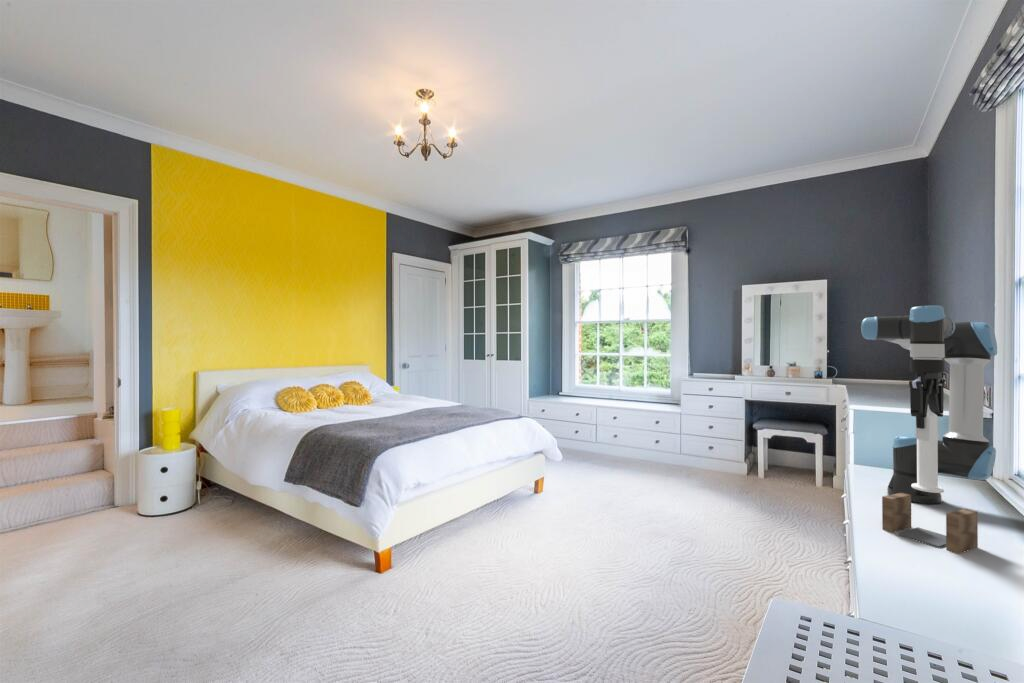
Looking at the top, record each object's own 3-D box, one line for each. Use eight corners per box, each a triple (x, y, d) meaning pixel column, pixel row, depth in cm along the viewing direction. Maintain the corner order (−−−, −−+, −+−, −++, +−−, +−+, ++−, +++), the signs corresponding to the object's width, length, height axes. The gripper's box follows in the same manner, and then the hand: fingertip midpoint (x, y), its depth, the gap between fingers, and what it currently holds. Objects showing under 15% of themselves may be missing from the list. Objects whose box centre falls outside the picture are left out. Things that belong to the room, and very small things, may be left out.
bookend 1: (901, 524, 145) (901, 492, 145) (911, 527, 142) (911, 494, 143) (882, 529, 141) (882, 496, 141) (891, 532, 138) (891, 498, 139)
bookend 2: (966, 544, 130) (965, 508, 131) (977, 547, 128) (977, 511, 128) (946, 550, 127) (946, 513, 127) (958, 553, 124) (957, 516, 124)
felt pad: (918, 528, 141) (918, 527, 141) (960, 541, 132) (960, 539, 132) (896, 534, 137) (896, 532, 137) (938, 547, 128) (938, 546, 128)
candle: (950, 493, 130) (949, 405, 131) (921, 492, 132) (920, 404, 132) (933, 486, 137) (932, 402, 138) (905, 485, 139) (905, 401, 139)
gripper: (928, 358, 142) (928, 434, 142) (894, 358, 135) (894, 438, 135) (959, 359, 135) (960, 439, 135) (925, 359, 128) (925, 443, 128)
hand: (927, 438), depth 135 cm, fingers closed on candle, 4 cm apart
